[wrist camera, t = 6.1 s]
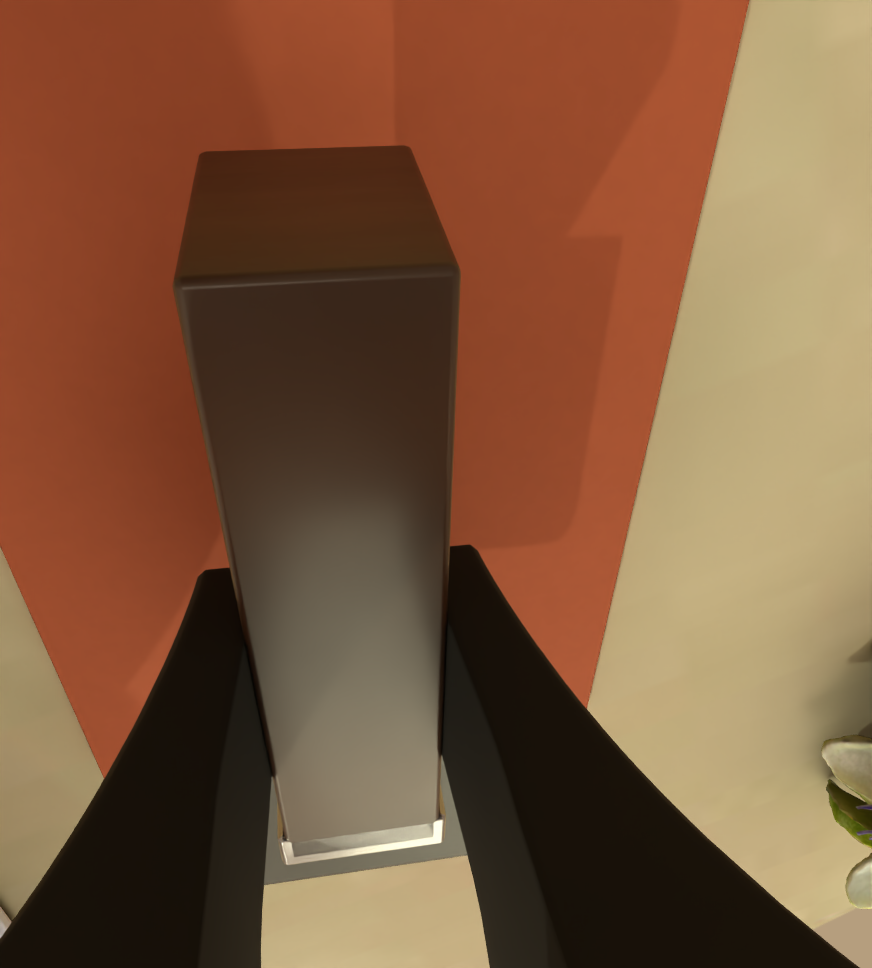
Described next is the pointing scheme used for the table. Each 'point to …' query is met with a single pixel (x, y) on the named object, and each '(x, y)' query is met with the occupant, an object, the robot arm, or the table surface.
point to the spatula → (332, 483)
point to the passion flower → (853, 805)
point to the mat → (470, 231)
